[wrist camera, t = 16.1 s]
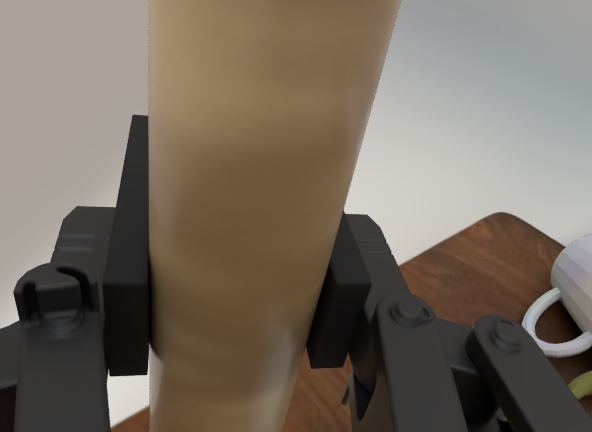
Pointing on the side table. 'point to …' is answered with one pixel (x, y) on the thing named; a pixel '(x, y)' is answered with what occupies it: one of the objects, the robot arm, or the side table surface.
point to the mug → (568, 298)
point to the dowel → (248, 193)
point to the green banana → (582, 385)
